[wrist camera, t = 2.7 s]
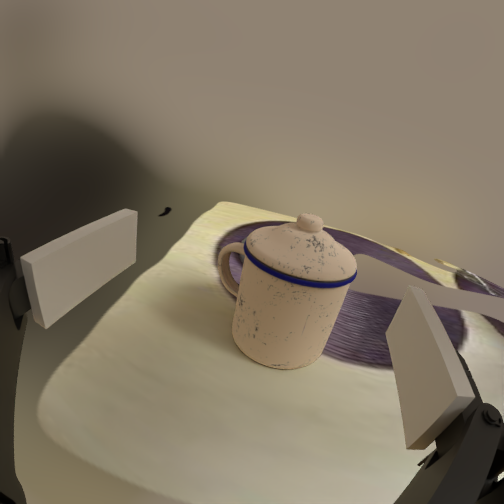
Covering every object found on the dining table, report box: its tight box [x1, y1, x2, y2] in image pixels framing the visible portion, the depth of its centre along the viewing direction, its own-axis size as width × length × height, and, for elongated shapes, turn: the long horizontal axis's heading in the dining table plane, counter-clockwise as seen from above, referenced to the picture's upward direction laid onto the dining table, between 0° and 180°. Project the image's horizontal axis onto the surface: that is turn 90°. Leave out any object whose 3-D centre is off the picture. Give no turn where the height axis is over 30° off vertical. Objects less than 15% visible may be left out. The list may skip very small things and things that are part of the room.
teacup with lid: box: [218, 213, 357, 369], centre depth 24 cm, size 12×9×12 cm
